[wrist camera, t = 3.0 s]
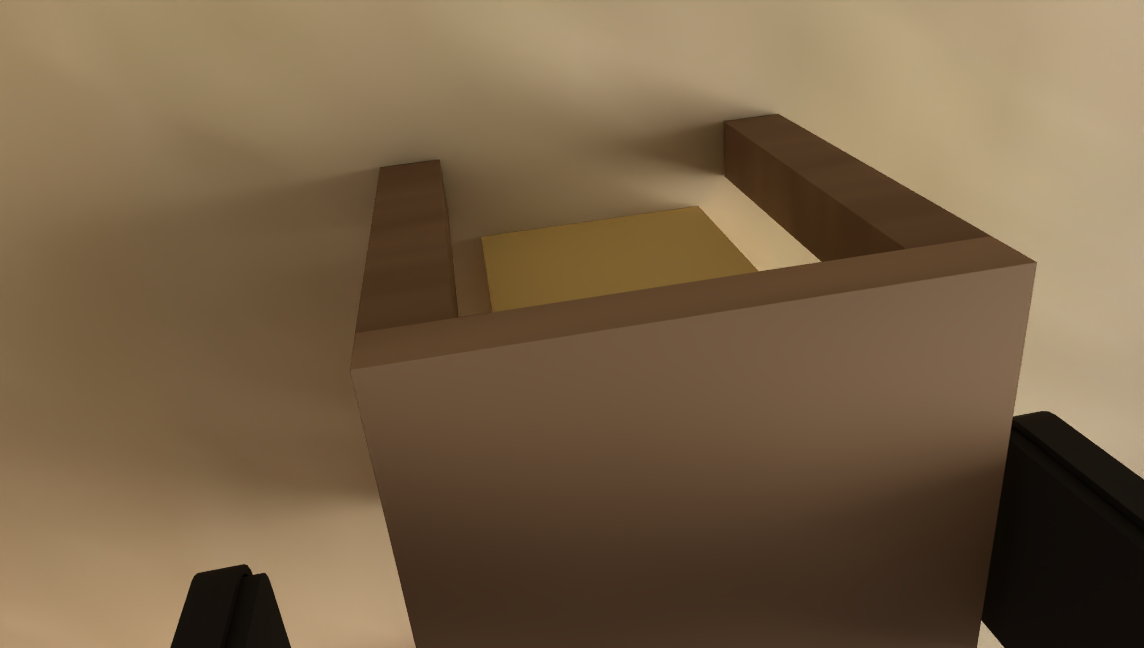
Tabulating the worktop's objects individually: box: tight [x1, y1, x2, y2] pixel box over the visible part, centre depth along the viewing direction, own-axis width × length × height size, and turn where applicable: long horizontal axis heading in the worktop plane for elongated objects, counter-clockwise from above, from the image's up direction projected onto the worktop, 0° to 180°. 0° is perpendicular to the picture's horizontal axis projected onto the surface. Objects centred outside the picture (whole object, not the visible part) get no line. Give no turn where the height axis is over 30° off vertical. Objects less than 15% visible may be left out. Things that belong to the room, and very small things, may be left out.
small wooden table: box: [350, 114, 1037, 648], centre depth 13 cm, size 7×7×7 cm
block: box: [481, 206, 759, 312], centre depth 15 cm, size 4×4×4 cm
